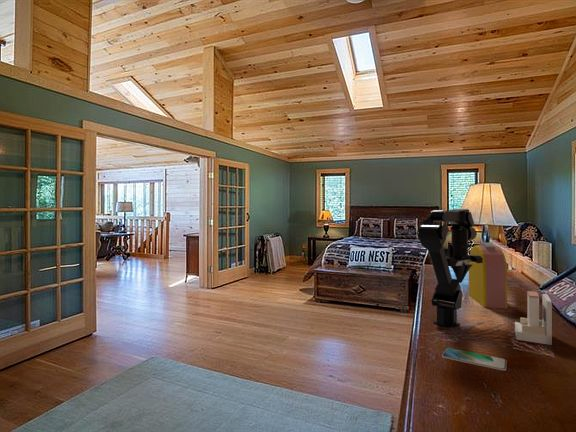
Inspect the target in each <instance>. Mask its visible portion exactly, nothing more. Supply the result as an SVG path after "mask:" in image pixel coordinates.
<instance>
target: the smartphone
mask: <svg viewBox="0 0 576 432" xmlns="http://www.w3.org/2000/svg"><path fill="white" fill-rule="evenodd" d="M441 357H442V358H443V359H447V360H452V361H455V362H456V361H457V362H461V363H465V364H469V365H475V366H480V367H485V368H488V369H494V370H498V371H507V364H508V363H507V362H508V360H507V359H506V358H503V357H496V356H492V355H488V354H487V355H486V354H482V353H476V352H472V351H466V350H463V349H456V348H452V347H446V348H445V350H444V351H443V354H442V355H441Z"/></svg>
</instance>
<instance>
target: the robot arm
mask: <svg viewBox="0 0 576 432" xmlns="http://www.w3.org/2000/svg"><path fill="white" fill-rule="evenodd" d="M438 222H439V223H440V222H441V223H443V225H440V224H434V223H438ZM448 224H449V225H451V227H450V229H449V226H448ZM449 230H450V231H451V233H450V234H451V235H450V237H451V240H450V241H451V242H450V244H448V247H447V248H444V245H445V242H446V240H447V236H448V233H449ZM416 235H417V239H418V240H419V242H420V245H421V246H422V247H423V248H425V249H426V250H427V251H428V254H429V257H430V261H431V264H432V267H433V271H434V274H435V278H436V281H437V284H436V287H434V293H433V295H432V298H431V300H430V301H431V305H432V306H433V307H434V306H435V307H436V320H433V324H437V325H439V326H441V327H442V326H443V327H446V328H452V327H457V326H460V325H461V323H460V322H457V321H458V320H457V318H458V315H457V314H458V313H457V311H458V310H459V309H461V307H462V304H463V303H462V302H463V295H464V294H463V290H461V288H462V287H461V286H460V285H461V283H463V281H464V280H465V277H466V275H468V274H467V273H469V269H470V267H471V266H472V265H470V264H469V262H471V261H472V262H476V263H483V258H482V257H481V256H479V255H471V254H470V253H469V249H470V248H471V244H469V241H473V240H474V239H475V238H477V235H478V232H477V230H476V228H475V221H474V219H473V214H472V212H471V211H470V210H469V209H468V208H462V209H461V208H458V209H455V208H453V209H449V210H446V209H434V210H431V211H430V213H429V215H428V216H427V217H426V218H424V219H423V220H422V221H421V222H420V225H419V227H418V228H417V231H416ZM471 249H472V248H471ZM450 268H451V269H452V271H453V273H454V276H455V278H453V276H452V274H451V270H450Z"/></svg>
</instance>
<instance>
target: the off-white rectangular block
mask: <svg viewBox="0 0 576 432" xmlns="http://www.w3.org/2000/svg"><path fill="white" fill-rule="evenodd" d="M526 294H527V295H526V297H527V300H526V301H527V305H526V307H527V309H526V310H527V314H526V315H527V317H526V318H527V324H528V325H529V326H536V327H539V320H540V296H539V293H538V292H537V291H531V290H530V291H529V290H527V293H526Z"/></svg>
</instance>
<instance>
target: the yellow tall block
mask: <svg viewBox="0 0 576 432" xmlns="http://www.w3.org/2000/svg"><path fill="white" fill-rule="evenodd" d="M469 254H471V255H479V256H481V257H482V258H483V263H476V262H472V261H471V262H469V264H470V265H472V266H471V267H470V269H469V271H468V296H469V298H470V299H472V300H474V301H475V302H476V303H478V304H479V305H480V306H482V307H483V308H488V309H489V308H490V309H491V308H492V309H493V308H494V309H508V264H507V260H506V256H505V254H504V252H503V250H502V248H500V247H499V246H498V245H494V244H493V243H492V242H481V243H479V244H477V245H474V246H473V247H472V248H471V250H470V252H469Z"/></svg>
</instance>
